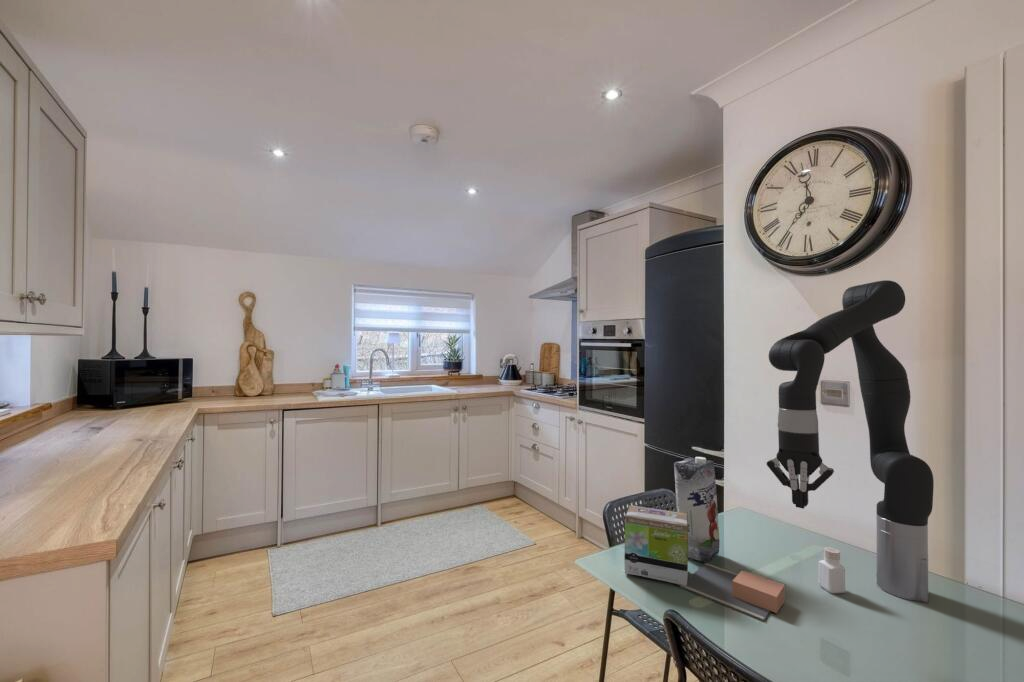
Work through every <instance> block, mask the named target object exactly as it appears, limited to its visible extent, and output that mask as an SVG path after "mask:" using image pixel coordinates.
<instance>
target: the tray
mask: <svg viewBox="0 0 1024 682" xmlns="http://www.w3.org/2000/svg"><path fill="white" fill-rule="evenodd" d="M703 563H704V564H703V565H701V567H699V568H698V569H697V570H696V571H695V572H693V574H691V575H690V576H689V577H687V585H686V586H683V585H679V588H681V589H683V590H686V591H688V592H690V593H693V594H696V595H698V596H700V597H703V598H705V599H708V600H710V601H712V602H715V603H717V604H720V605H722V606H725V607H727V608H730V609H732V610H734V611H736V612H740V613H742V614H744V615H747V616H749V617H752V618H754V619H757V620H759V621H761V622H765V620H766V618H767V617H768V616H769V614H770V613H771V611H769V610H767V609H764V608H761V607H759V606H756V605H754V604H751V603H749V602H746V601H743V600H741V599H738V598H736V597H733V596H732V581H733V580H734V578H735V577H736V576H737V575H738V574H739V573H735V572H734V571H733V572H732V571H730V570H727V569H725V568H721V567H718V566H716V565H713V564H710V563H708V562H703Z"/></svg>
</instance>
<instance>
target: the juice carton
mask: <svg viewBox="0 0 1024 682" xmlns="http://www.w3.org/2000/svg"><path fill="white" fill-rule="evenodd" d="M673 468H674V485H675V504H676V506H675V507H676V512H680V513H687V521H688V559H692V560H696V561H699V562H703V563H708V562H709V561H710V560H711V559H712V558H713V557H716V556H717V555H718V554H719V552H720V544H721V543H720V542H721V541H720V530H719V528H720V527H719V513H718V512H719V511H718V497H717V485H716V483H717V482H716V472H715V471H716V470H715V461H714V460H709V459H708V460H707V458H706V457H704V456H695V458H693V457H692V458H691V457H687V458H685V459H684V460H681V461H674V463H673Z"/></svg>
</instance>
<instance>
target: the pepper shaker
mask: <svg viewBox="0 0 1024 682" xmlns="http://www.w3.org/2000/svg"><path fill="white" fill-rule="evenodd" d="M840 560H841V552H840V550H838V549H836V548H833V547H829V546H825V547H823V559H821V560H819V561H818V585H819V587H821V588H822V589H823V590H825V591H827V592H828V593H830V594H844V593H846V568H845V567H844V566H843V565H842V564H841V563H840V562H841V561H840Z"/></svg>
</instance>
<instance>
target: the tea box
mask: <svg viewBox="0 0 1024 682" xmlns="http://www.w3.org/2000/svg"><path fill="white" fill-rule="evenodd" d="M628 506H629V507H628V509H627V512H626V513H625V514H626V515H625V517H624V518H625V519H624V522H625V523H624V559H623V560H624V574H625V575H634V576H639V577H640V576H641V577H643V578H648V579H653V580H658V581H661V582H662V581H663V582H665V583H666V582H667V583H671V584H676V585H679V586H680V585H683V586H686V585H687V579H688V576H689V575H688V573H689V572H688V571H689V570H688V569H689V567H688V564H689V563H688V562H689V558H688V521H687V513H680V512H677V511H674V510H665V509H659V508H653V507H652V508H650V507H646V506H645V507H644V506H640V505H639V506H638V505H633V504H632V505H631V504H629V505H628Z"/></svg>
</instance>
